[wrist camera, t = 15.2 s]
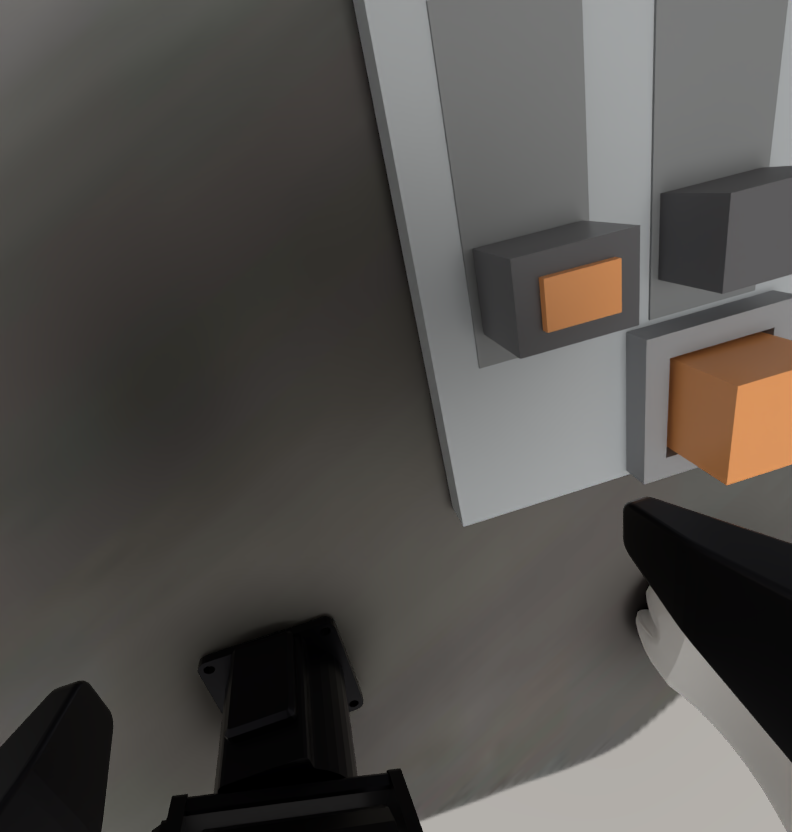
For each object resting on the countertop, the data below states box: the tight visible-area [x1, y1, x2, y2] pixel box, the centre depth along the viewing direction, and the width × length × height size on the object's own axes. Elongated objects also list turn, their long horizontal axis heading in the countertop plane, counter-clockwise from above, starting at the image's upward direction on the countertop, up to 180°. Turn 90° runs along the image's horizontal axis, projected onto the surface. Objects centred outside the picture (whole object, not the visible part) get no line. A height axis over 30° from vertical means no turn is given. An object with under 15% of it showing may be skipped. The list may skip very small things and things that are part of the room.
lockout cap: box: [667, 332, 792, 485], centre depth 19 cm, size 4×4×4 cm
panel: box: [353, 0, 792, 527], centre depth 17 cm, size 20×16×5 cm
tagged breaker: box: [473, 220, 640, 359], centre depth 16 cm, size 3×4×3 cm
